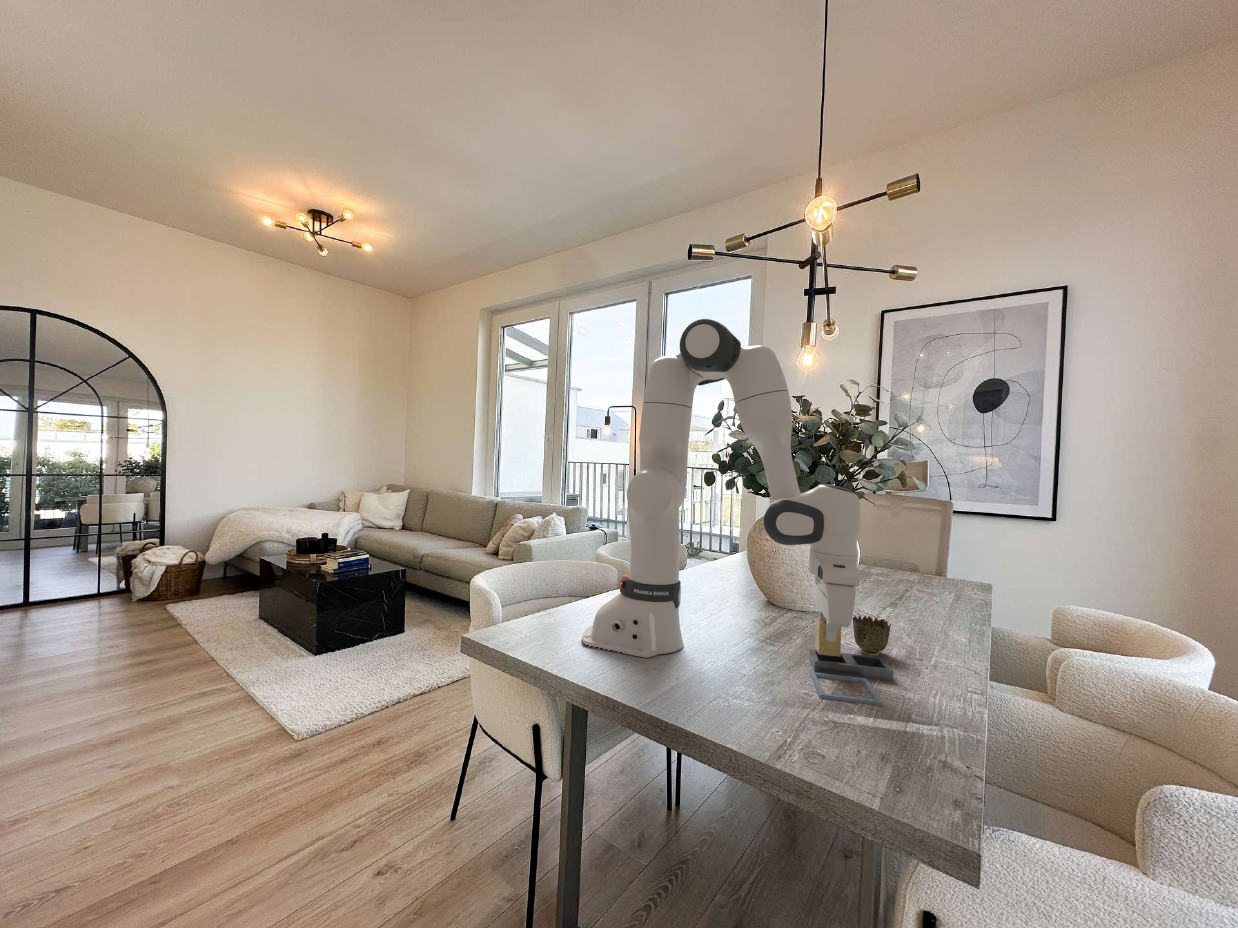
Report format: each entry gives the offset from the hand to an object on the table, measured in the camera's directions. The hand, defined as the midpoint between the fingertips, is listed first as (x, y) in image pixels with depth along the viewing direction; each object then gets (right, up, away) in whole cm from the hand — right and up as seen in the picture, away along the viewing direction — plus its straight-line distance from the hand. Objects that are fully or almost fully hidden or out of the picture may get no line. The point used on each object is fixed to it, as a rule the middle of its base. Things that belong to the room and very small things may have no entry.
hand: (827, 635), depth 101 cm
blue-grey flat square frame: (-1, -7, -10) cm, 12 cm away
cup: (+13, -8, +9) cm, 18 cm away
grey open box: (+4, -7, -1) cm, 8 cm away
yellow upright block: (0, -3, 0) cm, 3 cm away
